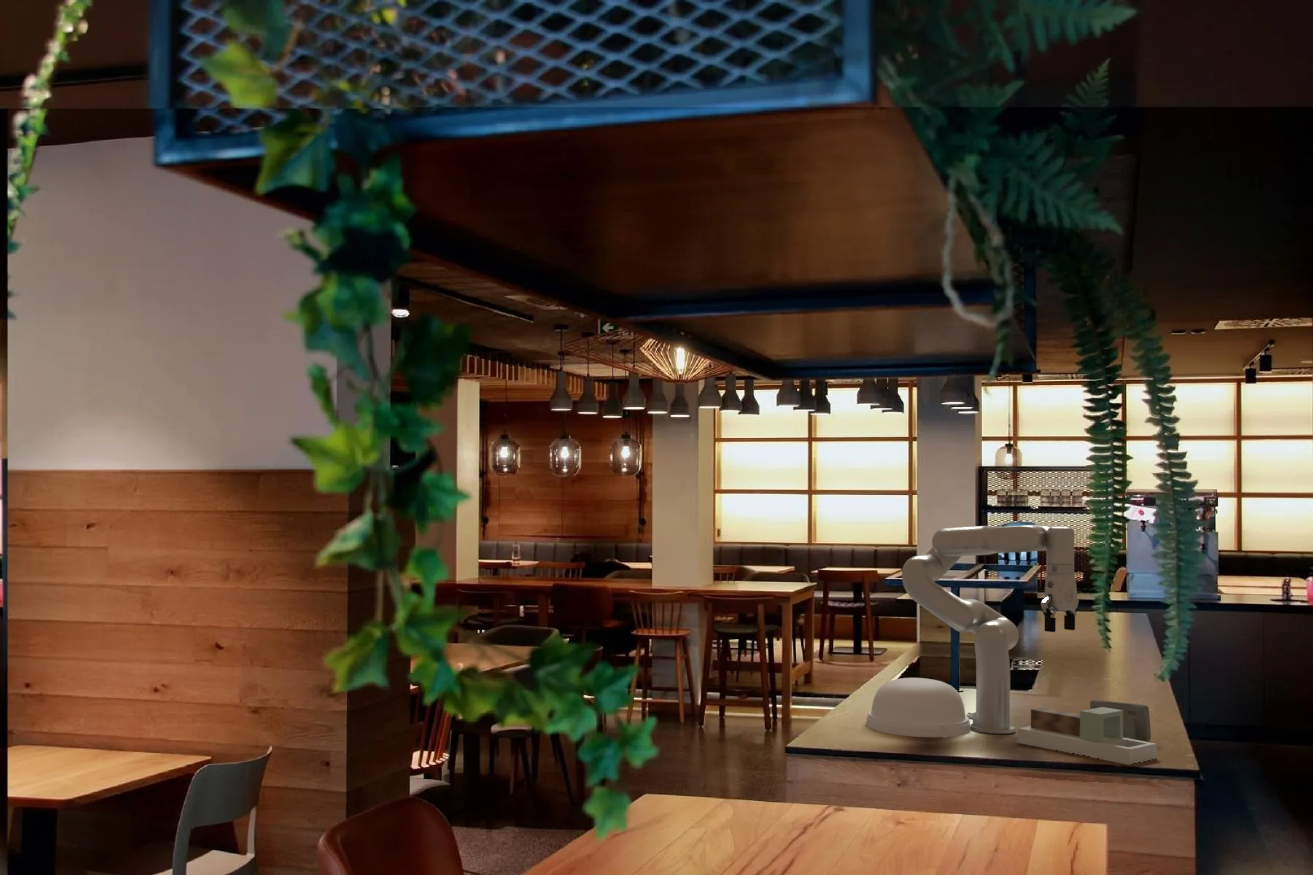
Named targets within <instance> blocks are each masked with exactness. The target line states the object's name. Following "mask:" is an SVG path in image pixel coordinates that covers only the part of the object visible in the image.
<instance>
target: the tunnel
mask: <svg viewBox="0 0 1313 875" xmlns="http://www.w3.org/2000/svg"><path fill="white" fill-rule="evenodd" d="M1079 714H1080V739H1082V740H1088V741H1093V742H1098V743H1102V742H1104V736H1107V737H1112V738H1118V739H1122V738H1123V710H1118V709H1111V708H1105V707H1100V708H1094V709H1090V708H1089V709H1082V710H1080V711H1079Z"/></svg>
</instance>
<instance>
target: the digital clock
mask: <svg viewBox="0 0 1313 875" xmlns="http://www.w3.org/2000/svg"><path fill="white" fill-rule="evenodd" d="M1089 706H1090V708H1089V709H1094V708H1100V707H1105V708H1111V709H1118V710H1123V738H1129V739H1134V740H1140V741H1145V742H1150V741H1151V739H1152V730H1151V718H1150V708H1149V706H1148V705H1145V704H1138V703H1129V702H1120V701H1113V700H1112V701H1110V700H1103V699H1102V700H1100V699H1091V700H1090V702H1089Z"/></svg>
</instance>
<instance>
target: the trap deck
mask: <svg viewBox="0 0 1313 875" xmlns="http://www.w3.org/2000/svg"><path fill="white" fill-rule="evenodd" d="M1017 744H1020V745H1027V746H1030V747H1031V746H1033V747H1037V748H1042V749H1046V750H1047V749H1048V750H1052V751H1056V750H1058V751H1057V752H1062V751H1063V753H1067V752H1068V753H1067V754H1072V753H1075V754H1074V755H1077V754H1079V755H1078V756H1082V755H1086V756H1085V757H1087V756H1090V757H1089V758H1091V759H1097V758H1099V759H1098V760H1102V761H1103V760H1104V761H1108V762H1114V763H1118V764H1122V765H1129V766H1131V764H1133V763H1137V764H1139V763H1138V762H1141V761H1146V760H1150V759H1153V758H1158V757H1157V755H1158V754H1157V753H1158V752H1157V751H1158V750H1157V749H1158V748H1157V747H1158V744H1157V743H1155V742H1150V741H1141V740H1134V739H1129V738H1122V739H1118V738H1112V737H1107V736H1104V742H1102V743H1098V742H1093V741H1088V740H1082V739H1080V736H1074V735H1068V734H1063V733H1058V732H1052V731H1047V730H1041V729H1036V728H1031V725H1028V726H1024V727H1023V726H1022V727H1018V728H1017ZM1150 761H1151V760H1150ZM1146 762H1147V761H1146ZM1141 763H1142V762H1141ZM1133 765H1134V764H1133Z"/></svg>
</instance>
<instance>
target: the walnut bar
mask: <svg viewBox="0 0 1313 875" xmlns="http://www.w3.org/2000/svg"><path fill="white" fill-rule="evenodd" d="M1030 726H1031V728H1036V729H1041V730H1047V731H1052V732H1058V733H1063V734H1068V735H1074V736H1080V713H1074V712H1070V711H1064V710H1063V711H1062V710H1057V709H1051V708H1046V707H1037V708H1031V709H1030Z"/></svg>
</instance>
